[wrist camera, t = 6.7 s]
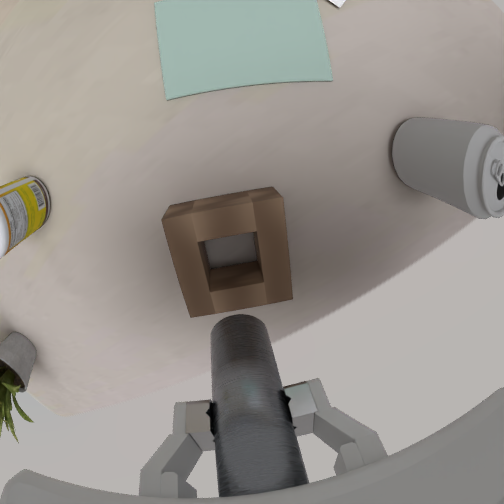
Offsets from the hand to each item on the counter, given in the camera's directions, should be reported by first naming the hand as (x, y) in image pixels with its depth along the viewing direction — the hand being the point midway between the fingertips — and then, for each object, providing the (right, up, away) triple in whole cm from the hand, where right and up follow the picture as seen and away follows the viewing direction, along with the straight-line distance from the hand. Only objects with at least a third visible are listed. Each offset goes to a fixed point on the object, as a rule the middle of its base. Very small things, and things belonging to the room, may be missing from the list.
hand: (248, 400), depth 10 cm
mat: (-1, +24, +7) cm, 25 cm away
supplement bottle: (-22, +11, +11) cm, 27 cm away
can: (+17, +16, +13) cm, 27 cm away
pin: (0, +2, +4) cm, 4 cm away
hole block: (-2, +7, +15) cm, 17 cm away
